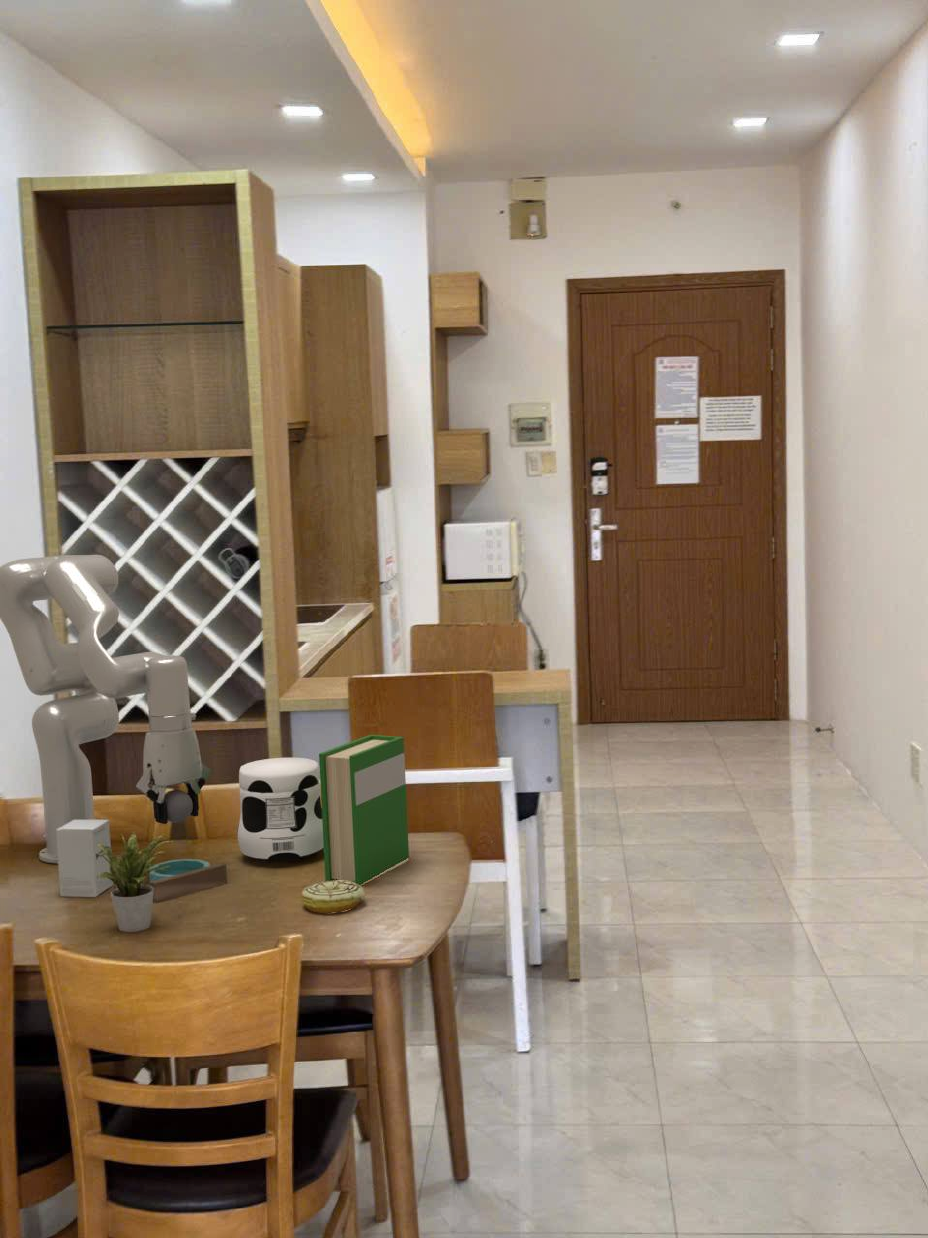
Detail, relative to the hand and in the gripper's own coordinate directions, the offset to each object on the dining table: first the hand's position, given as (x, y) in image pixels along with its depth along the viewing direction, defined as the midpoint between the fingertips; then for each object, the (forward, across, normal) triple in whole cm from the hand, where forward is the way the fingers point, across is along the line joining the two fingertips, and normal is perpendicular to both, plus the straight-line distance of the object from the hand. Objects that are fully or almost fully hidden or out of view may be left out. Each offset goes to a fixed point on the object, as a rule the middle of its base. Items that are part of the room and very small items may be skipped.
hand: (177, 818), depth 268 cm
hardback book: (+12, -26, +23) cm, 37 cm away
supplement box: (+12, +15, -8) cm, 21 cm away
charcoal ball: (-2, 0, 0) cm, 2 cm away
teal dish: (+12, 0, 0) cm, 12 cm away
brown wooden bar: (+12, +3, +8) cm, 14 cm away
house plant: (+12, +20, +18) cm, 29 cm away
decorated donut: (+13, -9, +34) cm, 37 cm away
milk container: (+12, -22, +2) cm, 25 cm away
